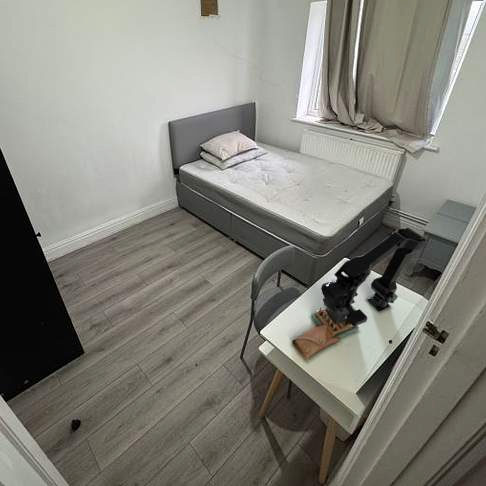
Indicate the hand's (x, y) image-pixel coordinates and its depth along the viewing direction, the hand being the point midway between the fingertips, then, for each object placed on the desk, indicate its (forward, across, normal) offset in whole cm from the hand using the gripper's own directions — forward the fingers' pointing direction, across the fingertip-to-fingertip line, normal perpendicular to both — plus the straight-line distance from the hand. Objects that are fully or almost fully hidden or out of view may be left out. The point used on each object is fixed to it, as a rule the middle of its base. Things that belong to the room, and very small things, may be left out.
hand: (337, 315), depth 114 cm
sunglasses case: (+6, +4, -12) cm, 14 cm away
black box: (+1, 0, 0) cm, 1 cm away
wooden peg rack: (+5, 0, 0) cm, 5 cm away
